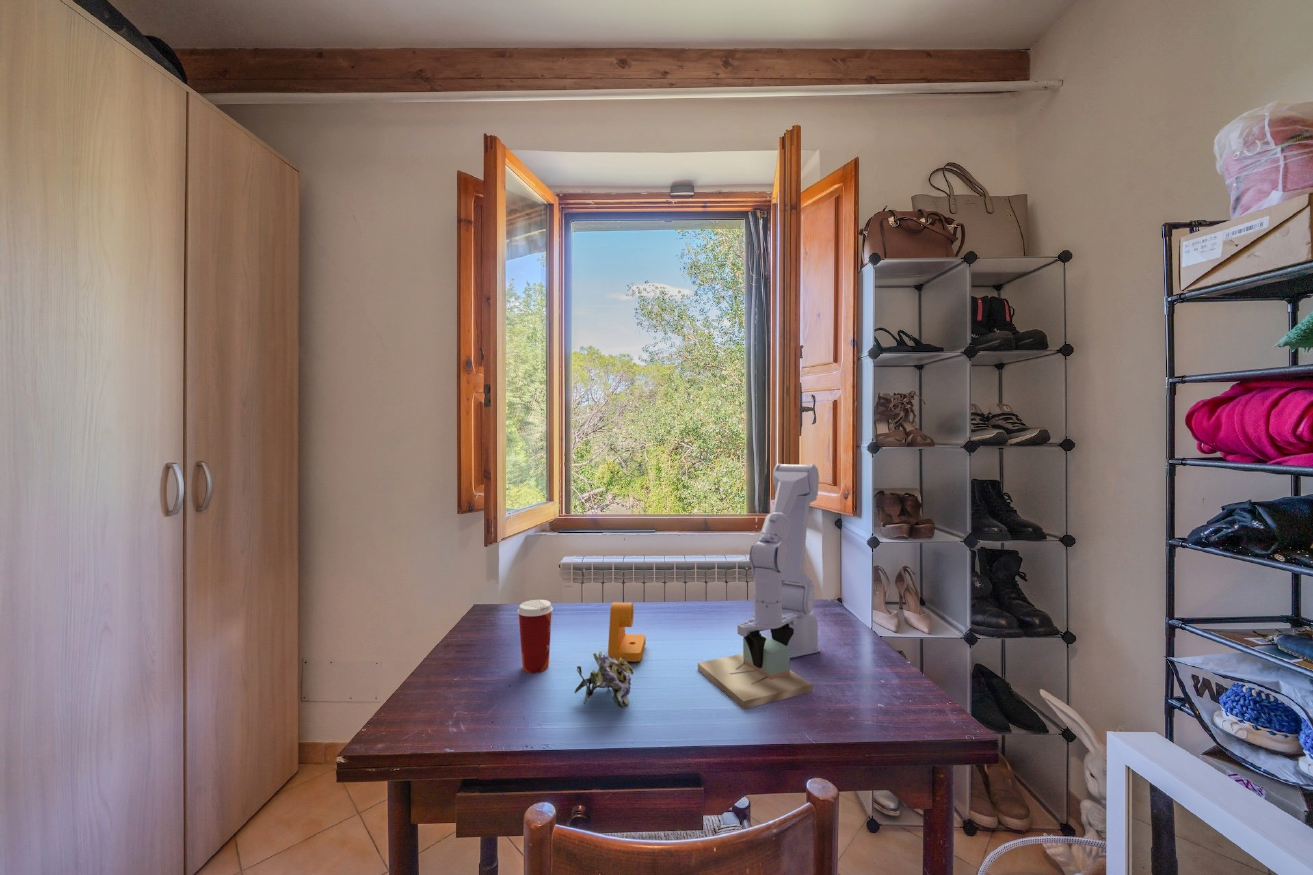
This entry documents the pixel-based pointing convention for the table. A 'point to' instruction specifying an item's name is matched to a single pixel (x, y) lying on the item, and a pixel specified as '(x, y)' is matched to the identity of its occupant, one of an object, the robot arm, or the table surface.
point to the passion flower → (609, 678)
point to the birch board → (751, 682)
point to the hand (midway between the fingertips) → (768, 663)
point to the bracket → (618, 640)
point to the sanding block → (770, 658)
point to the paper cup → (535, 634)
